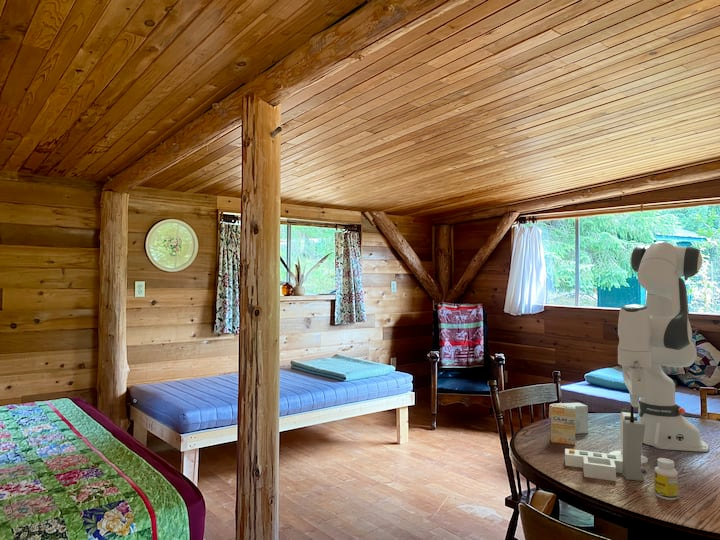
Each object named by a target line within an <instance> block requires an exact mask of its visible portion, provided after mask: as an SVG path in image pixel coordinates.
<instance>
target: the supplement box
mask: <svg viewBox="0 0 720 540" xmlns="http://www.w3.org/2000/svg"><path fill="white" fill-rule="evenodd" d="M550 414H551V416H550V417H551V419H550V420H551V421H550V422H551V423H550V425H551V426H550V427H551V428H550V442H551V443H557V444H562V445H563V444H565V445H573V446H575V445H576V434H575V421H576V408H575V406H567V405H557V404H555V403H551V413H550Z"/></svg>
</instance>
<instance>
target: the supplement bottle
mask: <svg viewBox="0 0 720 540" xmlns="http://www.w3.org/2000/svg"><path fill="white" fill-rule="evenodd" d="M654 495H655V496H656V497H658V498H661V499H663V500H667V501H675V500H677V499H678V497H679V496H678V495H679V494H678V471H677V470H676V469H675V461H674V460H672V459H669V458H664V457H659V458H657V466H655V467H654Z"/></svg>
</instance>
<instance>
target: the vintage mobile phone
mask: <svg viewBox="0 0 720 540" xmlns="http://www.w3.org/2000/svg"><path fill="white" fill-rule="evenodd" d="M631 400H632V398H631ZM630 410H631V414H630V420H624V421H623V469H622V473H621V474H622V475H623V476H624V478H625V479H626V480H627V481H637V482H638V481H639V482H644V481H645V475H644V473H643V472H642V471H641V469H642V464H641V455H642V444H643V443H642V442H643V440H644V431H645V424H644V423H643V422H642V421H639V420H637V421H634V414H635V412H634V411H635V410H634V407H632V405H631V404H630Z"/></svg>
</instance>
